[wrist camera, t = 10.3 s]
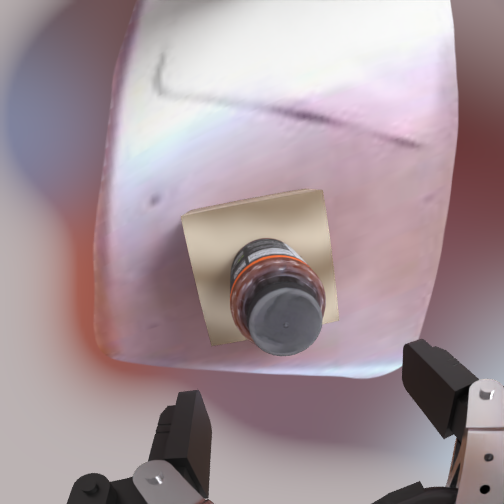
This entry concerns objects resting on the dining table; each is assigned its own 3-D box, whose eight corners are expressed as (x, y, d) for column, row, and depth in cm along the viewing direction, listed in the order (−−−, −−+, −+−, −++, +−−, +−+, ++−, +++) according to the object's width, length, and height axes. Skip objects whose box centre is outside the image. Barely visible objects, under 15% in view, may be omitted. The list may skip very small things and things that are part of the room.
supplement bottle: (294, 306, 29) (327, 375, 17) (227, 300, 28) (223, 370, 17) (305, 240, 27) (350, 277, 16) (234, 231, 27) (235, 265, 16)
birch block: (191, 209, 33) (180, 216, 26) (304, 188, 33) (322, 190, 27) (215, 316, 36) (211, 346, 29) (320, 295, 36) (339, 320, 29)
